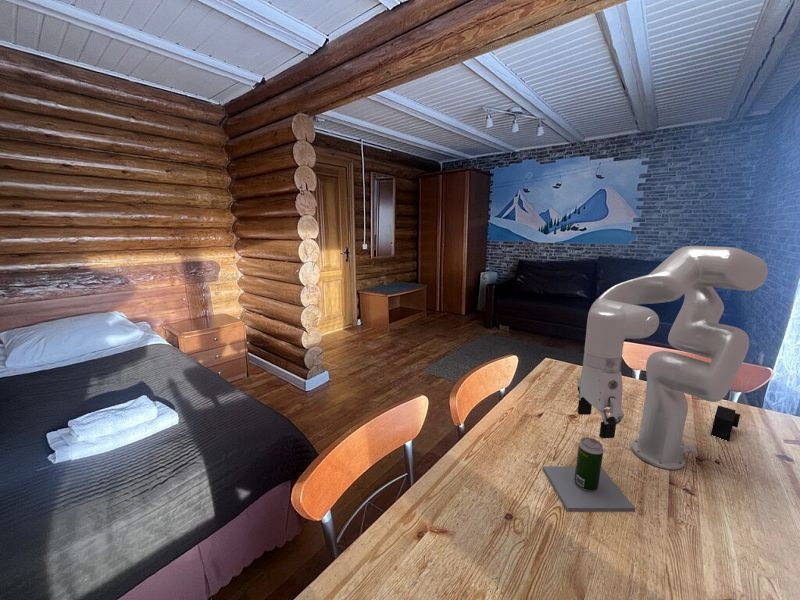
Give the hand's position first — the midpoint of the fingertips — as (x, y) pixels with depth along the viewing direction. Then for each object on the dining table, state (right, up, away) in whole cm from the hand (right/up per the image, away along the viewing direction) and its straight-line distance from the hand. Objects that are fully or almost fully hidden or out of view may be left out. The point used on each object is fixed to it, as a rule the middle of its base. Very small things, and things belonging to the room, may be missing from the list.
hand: (594, 425), depth 81 cm
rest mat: (0, -18, +4) cm, 18 cm away
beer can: (0, -17, +3) cm, 17 cm away
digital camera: (+58, -13, +27) cm, 65 cm away
